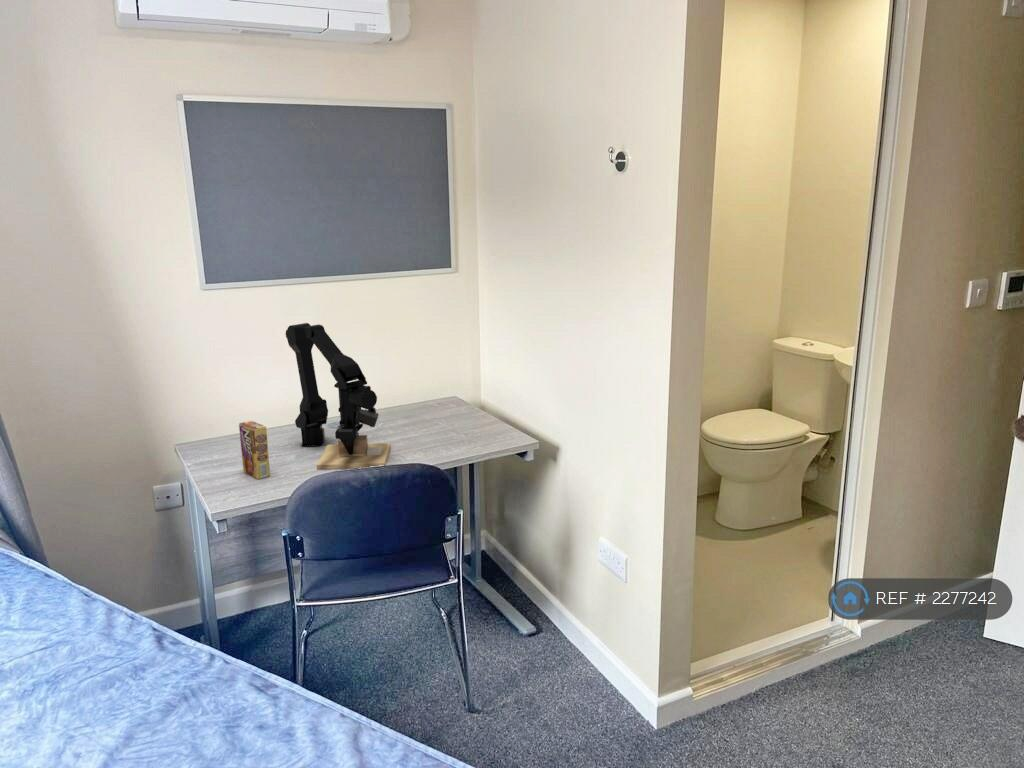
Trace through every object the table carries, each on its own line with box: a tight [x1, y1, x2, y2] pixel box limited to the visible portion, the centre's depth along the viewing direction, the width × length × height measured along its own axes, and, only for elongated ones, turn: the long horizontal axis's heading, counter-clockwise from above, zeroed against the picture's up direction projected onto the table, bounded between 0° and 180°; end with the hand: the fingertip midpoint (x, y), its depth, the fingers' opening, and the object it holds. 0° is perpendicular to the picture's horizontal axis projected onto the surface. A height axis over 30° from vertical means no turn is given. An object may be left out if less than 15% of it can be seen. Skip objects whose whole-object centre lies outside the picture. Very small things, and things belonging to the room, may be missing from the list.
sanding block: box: [337, 434, 369, 456], centre depth 231 cm, size 8×5×5 cm, turn 92°
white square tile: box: [367, 447, 382, 455], centre depth 232 cm, size 4×4×1 cm
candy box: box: [238, 420, 271, 480], centre depth 218 cm, size 9×4×15 cm, turn 47°
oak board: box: [316, 442, 391, 471], centre depth 232 cm, size 20×18×2 cm
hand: (352, 451), depth 231 cm, fingers closed on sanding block, 5 cm apart
